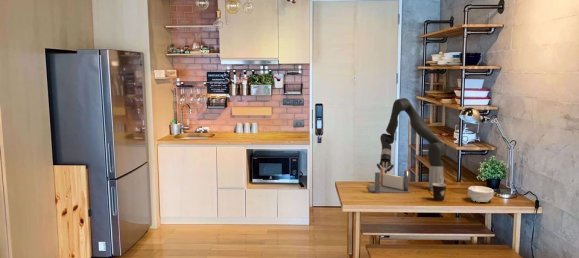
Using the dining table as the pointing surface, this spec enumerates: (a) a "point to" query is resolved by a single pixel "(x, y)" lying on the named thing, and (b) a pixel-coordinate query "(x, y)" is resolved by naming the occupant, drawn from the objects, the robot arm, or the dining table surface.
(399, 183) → the gate
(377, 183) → the gate posts
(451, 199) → the dining table surface
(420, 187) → the dining table surface
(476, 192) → the paper bowls
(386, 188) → the mat
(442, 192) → the coffee mug
